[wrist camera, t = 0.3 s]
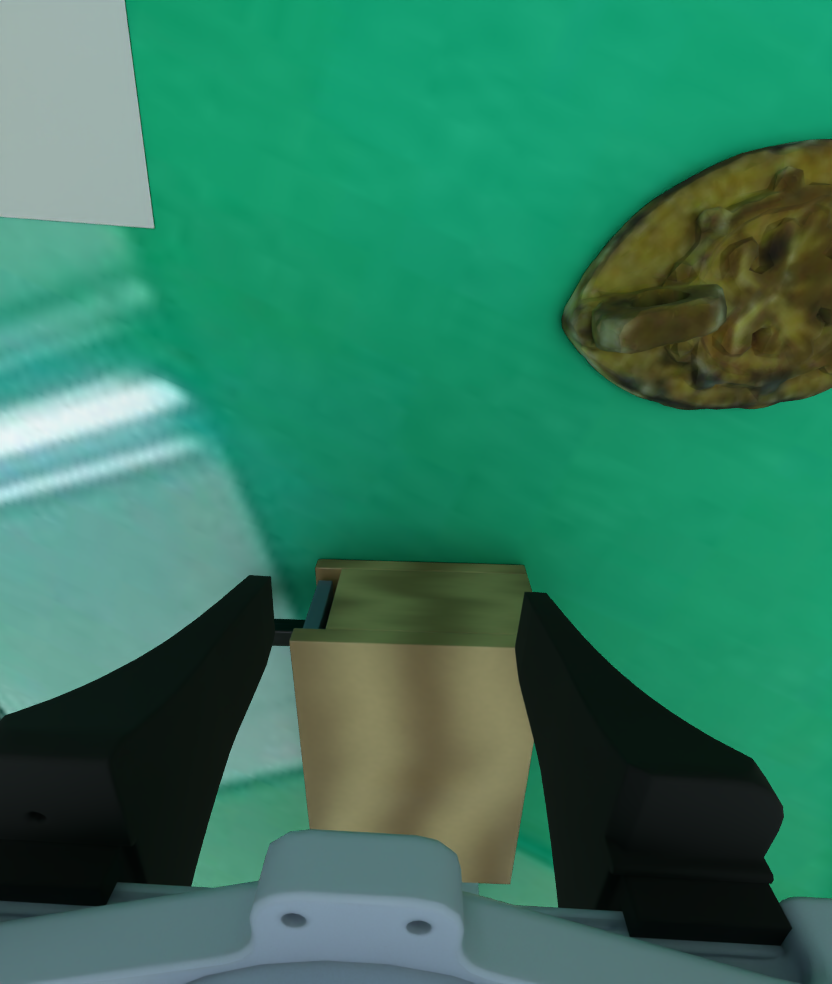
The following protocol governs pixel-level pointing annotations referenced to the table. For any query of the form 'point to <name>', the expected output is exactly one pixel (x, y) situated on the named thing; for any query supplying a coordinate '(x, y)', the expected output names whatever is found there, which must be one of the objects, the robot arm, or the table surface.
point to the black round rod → (314, 618)
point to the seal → (718, 286)
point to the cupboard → (417, 707)
